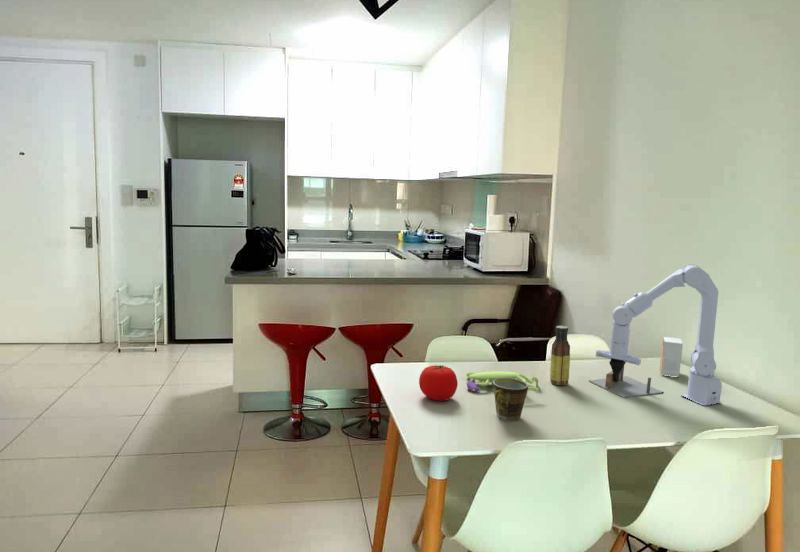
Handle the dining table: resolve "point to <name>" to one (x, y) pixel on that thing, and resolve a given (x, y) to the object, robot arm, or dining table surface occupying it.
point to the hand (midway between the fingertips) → (615, 381)
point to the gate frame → (627, 386)
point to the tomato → (438, 382)
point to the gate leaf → (610, 379)
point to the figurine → (496, 375)
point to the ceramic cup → (509, 397)
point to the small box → (671, 356)
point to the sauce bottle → (560, 358)
